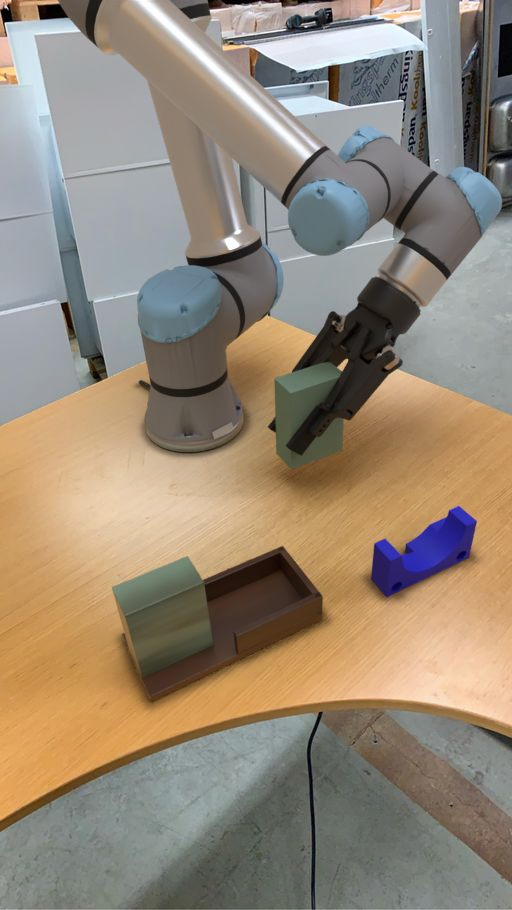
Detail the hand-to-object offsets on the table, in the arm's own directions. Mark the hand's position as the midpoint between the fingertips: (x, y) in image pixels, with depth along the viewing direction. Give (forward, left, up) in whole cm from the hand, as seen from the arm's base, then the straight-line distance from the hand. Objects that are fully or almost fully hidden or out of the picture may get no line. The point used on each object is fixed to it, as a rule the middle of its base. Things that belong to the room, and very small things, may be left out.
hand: (284, 440), depth 85 cm
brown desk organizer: (+12, -22, -8) cm, 26 cm away
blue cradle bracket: (+21, +1, -8) cm, 23 cm away
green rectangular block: (+1, +4, -3) cm, 5 cm away
